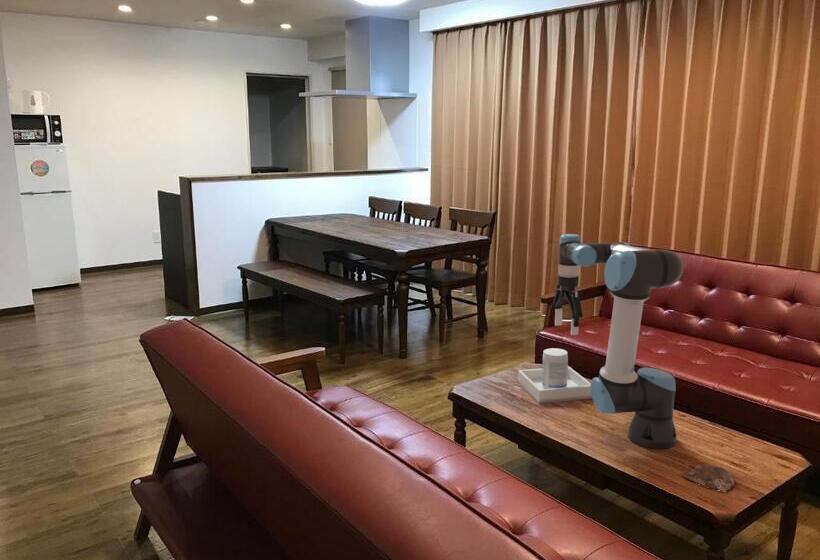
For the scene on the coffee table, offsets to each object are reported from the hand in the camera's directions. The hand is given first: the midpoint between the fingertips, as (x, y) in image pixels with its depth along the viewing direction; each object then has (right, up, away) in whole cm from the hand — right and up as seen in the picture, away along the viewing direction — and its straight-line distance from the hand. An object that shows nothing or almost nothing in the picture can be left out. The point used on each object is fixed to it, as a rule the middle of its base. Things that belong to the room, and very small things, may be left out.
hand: (566, 329), depth 250 cm
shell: (+28, -40, -60) cm, 77 cm away
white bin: (-3, -24, +7) cm, 25 cm away
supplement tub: (-3, -23, +7) cm, 25 cm away
